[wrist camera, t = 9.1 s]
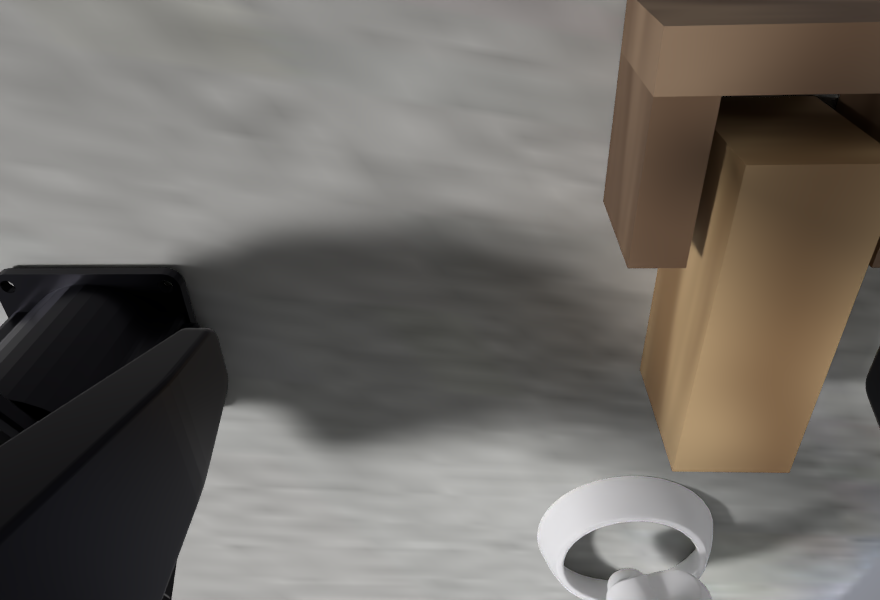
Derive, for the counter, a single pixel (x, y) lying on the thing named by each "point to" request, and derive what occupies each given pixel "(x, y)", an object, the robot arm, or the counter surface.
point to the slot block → (719, 99)
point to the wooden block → (762, 284)
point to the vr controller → (625, 500)
